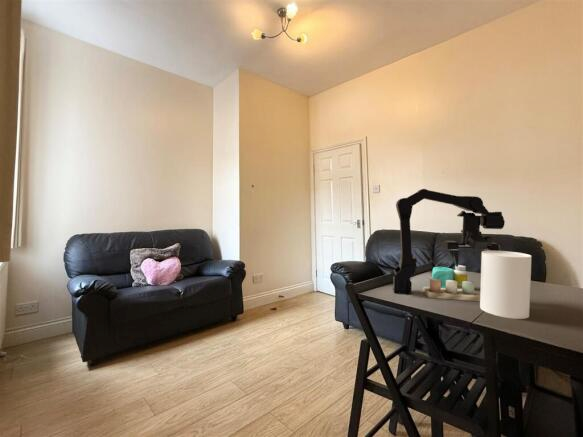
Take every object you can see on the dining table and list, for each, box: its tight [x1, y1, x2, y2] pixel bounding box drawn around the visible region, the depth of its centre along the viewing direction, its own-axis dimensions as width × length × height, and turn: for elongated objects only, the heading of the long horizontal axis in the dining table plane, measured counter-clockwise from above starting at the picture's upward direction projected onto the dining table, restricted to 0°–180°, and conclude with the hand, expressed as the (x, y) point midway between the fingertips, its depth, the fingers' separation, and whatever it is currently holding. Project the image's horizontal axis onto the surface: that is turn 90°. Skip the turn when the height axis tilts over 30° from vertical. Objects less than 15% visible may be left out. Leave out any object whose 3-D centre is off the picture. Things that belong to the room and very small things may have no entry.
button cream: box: [446, 280, 457, 293], centre depth 113 cm, size 4×4×4 cm
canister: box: [479, 250, 532, 320], centre depth 96 cm, size 14×14×20 cm
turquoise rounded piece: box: [431, 266, 454, 288], centre depth 126 cm, size 8×8×8 cm
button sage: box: [462, 280, 475, 294], centre depth 111 cm, size 4×4×4 cm
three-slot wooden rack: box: [422, 286, 480, 302], centre depth 113 cm, size 19×10×2 cm, turn 75°
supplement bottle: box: [453, 264, 468, 289], centre depth 123 cm, size 5×5×10 cm
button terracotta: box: [429, 278, 441, 291], centre depth 114 cm, size 4×4×4 cm
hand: (469, 267), depth 111 cm, fingers open, 9 cm apart
